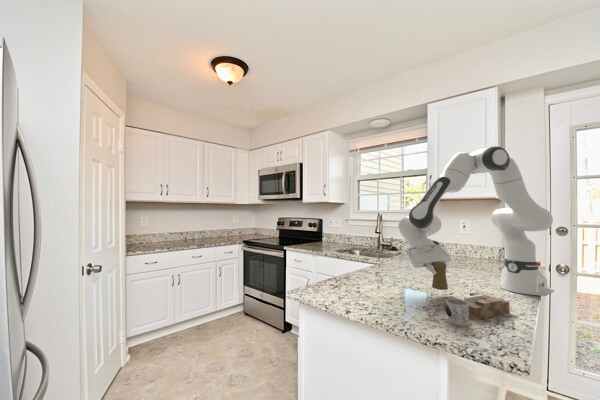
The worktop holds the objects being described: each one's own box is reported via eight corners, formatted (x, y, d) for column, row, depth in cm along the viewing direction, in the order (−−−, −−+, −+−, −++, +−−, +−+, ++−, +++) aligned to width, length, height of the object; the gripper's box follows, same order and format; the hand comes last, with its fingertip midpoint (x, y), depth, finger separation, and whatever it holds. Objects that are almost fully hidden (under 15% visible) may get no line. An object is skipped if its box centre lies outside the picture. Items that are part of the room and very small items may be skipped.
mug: (444, 316, 92) (444, 297, 92) (466, 320, 90) (466, 300, 90) (447, 328, 83) (447, 306, 83) (472, 332, 80) (472, 310, 81)
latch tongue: (481, 306, 102) (480, 294, 102) (483, 307, 101) (483, 295, 101) (464, 309, 98) (464, 296, 98) (467, 310, 97) (467, 297, 97)
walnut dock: (476, 302, 108) (476, 289, 108) (509, 313, 97) (509, 299, 97) (444, 307, 101) (444, 294, 101) (476, 320, 90) (476, 305, 90)
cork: (450, 290, 110) (449, 263, 111) (434, 289, 111) (433, 262, 112) (445, 286, 116) (444, 260, 117) (430, 285, 117) (429, 259, 118)
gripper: (408, 244, 117) (427, 271, 107) (441, 241, 125) (462, 267, 115) (400, 252, 121) (418, 279, 111) (433, 250, 129) (452, 275, 119)
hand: (440, 273), depth 113 cm, fingers closed on cork, 4 cm apart
